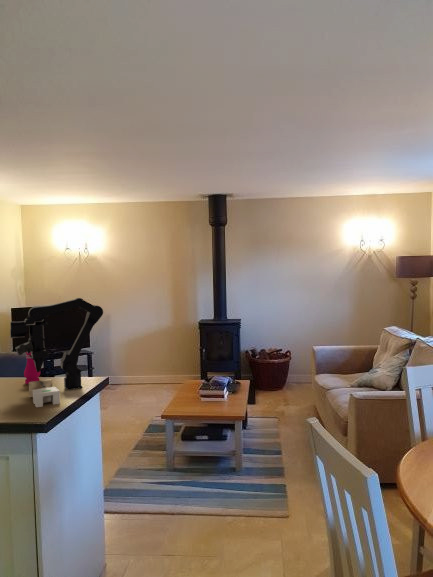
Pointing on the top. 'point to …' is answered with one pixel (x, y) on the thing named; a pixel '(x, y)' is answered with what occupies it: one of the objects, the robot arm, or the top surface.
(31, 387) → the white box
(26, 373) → the pepper mill
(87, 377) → the top surface
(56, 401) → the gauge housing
